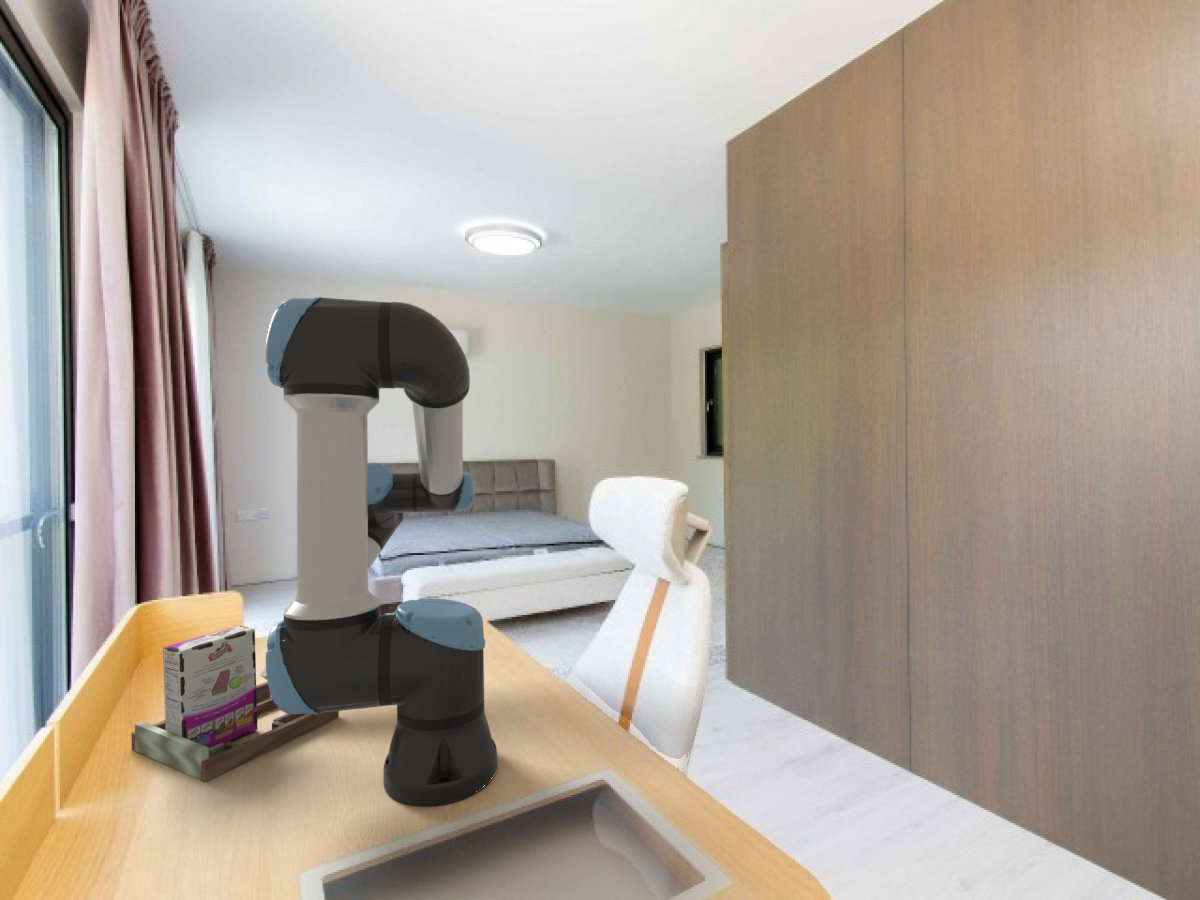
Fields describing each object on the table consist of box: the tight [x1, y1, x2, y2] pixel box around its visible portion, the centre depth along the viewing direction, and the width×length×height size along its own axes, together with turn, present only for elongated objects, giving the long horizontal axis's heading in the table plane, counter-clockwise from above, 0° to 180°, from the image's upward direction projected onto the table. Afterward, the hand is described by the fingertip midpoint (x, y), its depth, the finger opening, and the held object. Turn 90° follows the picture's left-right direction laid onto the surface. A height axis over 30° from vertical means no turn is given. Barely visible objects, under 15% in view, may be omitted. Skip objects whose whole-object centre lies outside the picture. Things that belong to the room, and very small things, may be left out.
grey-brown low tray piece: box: [130, 681, 340, 783], centre depth 92 cm, size 19×21×4 cm
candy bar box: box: [162, 625, 258, 748], centre depth 88 cm, size 11×5×16 cm, turn 155°
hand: (268, 679), depth 96 cm, fingers closed
